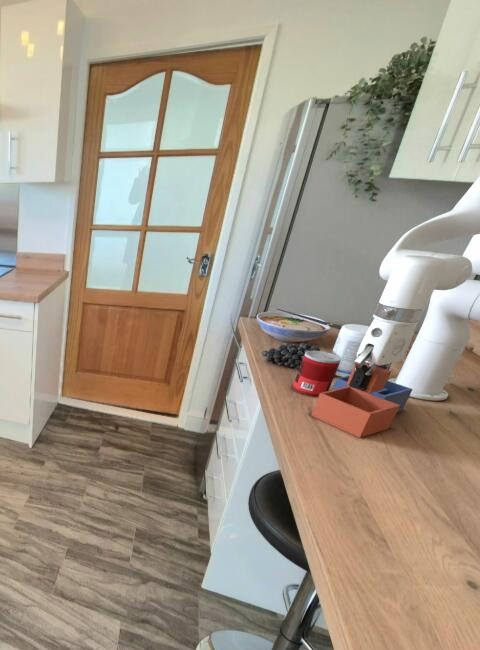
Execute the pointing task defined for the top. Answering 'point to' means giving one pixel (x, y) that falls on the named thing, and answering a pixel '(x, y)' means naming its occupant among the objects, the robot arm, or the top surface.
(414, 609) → the top surface
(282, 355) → the fruit
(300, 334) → the ramen bowl
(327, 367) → the canned food
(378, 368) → the terracotta block
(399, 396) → the blue bin
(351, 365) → the supplement tub
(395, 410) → the terracotta bin
